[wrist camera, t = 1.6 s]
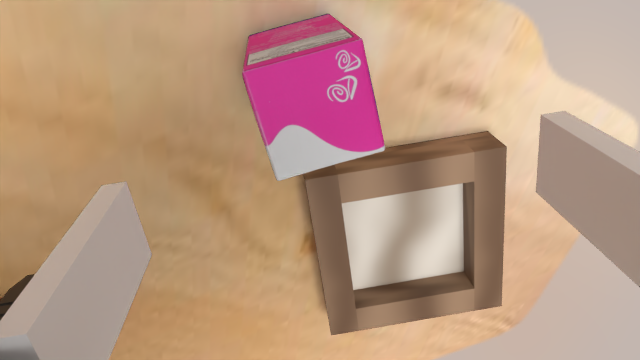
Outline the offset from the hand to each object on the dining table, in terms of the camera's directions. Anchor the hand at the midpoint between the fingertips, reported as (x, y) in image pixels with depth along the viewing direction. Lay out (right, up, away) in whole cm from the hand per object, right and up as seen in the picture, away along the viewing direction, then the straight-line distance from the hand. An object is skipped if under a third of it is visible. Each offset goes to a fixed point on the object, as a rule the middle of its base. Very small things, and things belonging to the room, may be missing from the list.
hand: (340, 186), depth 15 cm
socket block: (+6, -4, +23) cm, 24 cm away
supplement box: (-2, +8, +17) cm, 19 cm away
